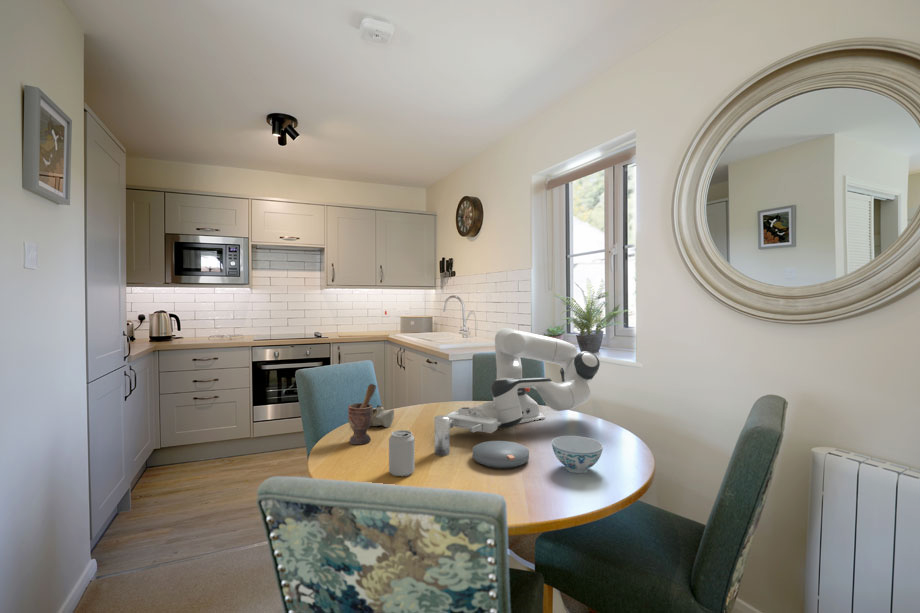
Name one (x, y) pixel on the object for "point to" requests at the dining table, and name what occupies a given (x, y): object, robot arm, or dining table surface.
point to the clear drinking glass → (442, 435)
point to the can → (401, 453)
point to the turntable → (500, 453)
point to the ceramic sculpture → (382, 417)
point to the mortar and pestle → (361, 418)
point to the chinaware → (577, 452)
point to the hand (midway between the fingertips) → (459, 427)
